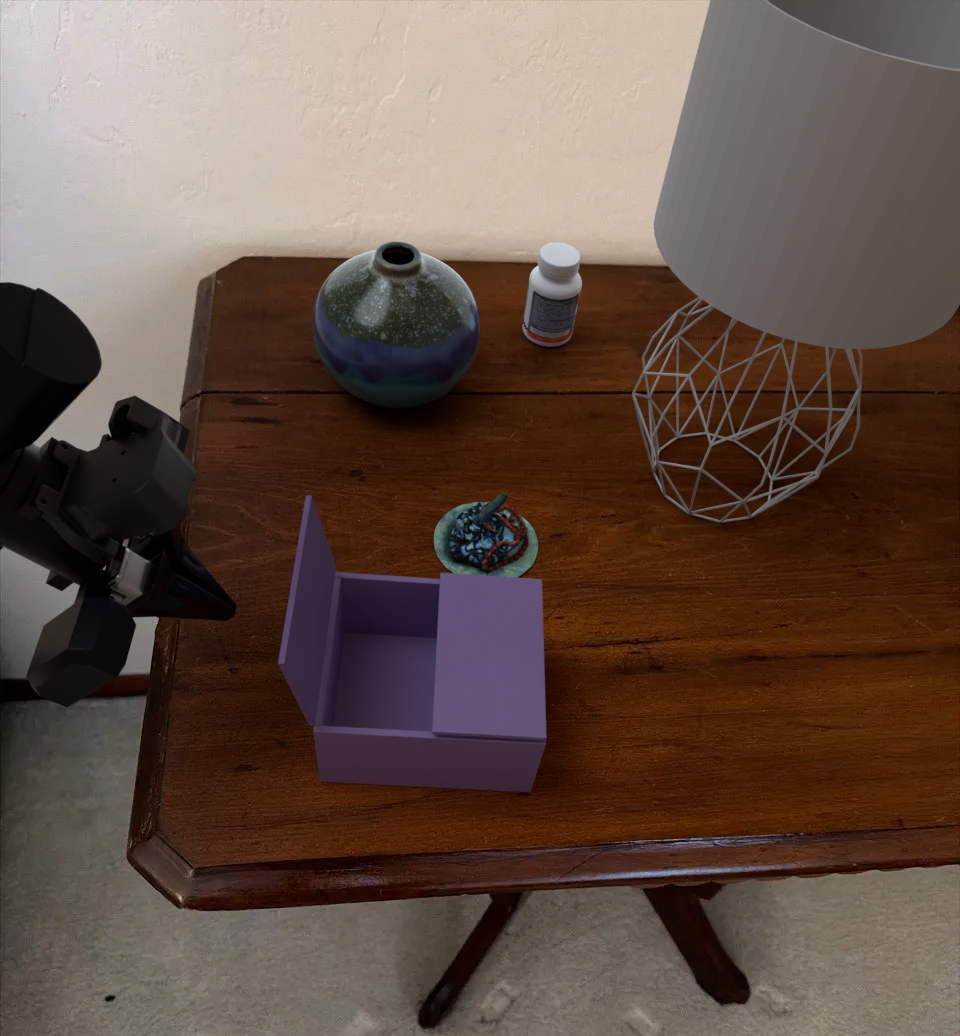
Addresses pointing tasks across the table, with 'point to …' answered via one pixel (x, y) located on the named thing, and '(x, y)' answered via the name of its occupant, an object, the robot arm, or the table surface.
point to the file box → (433, 682)
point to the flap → (308, 613)
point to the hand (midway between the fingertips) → (232, 613)
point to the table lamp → (813, 193)
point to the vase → (396, 326)
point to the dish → (486, 540)
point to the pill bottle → (553, 295)
